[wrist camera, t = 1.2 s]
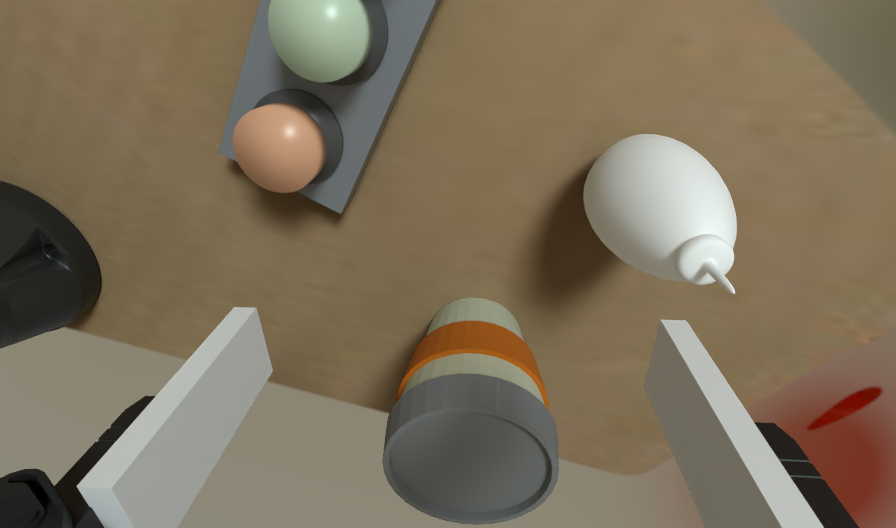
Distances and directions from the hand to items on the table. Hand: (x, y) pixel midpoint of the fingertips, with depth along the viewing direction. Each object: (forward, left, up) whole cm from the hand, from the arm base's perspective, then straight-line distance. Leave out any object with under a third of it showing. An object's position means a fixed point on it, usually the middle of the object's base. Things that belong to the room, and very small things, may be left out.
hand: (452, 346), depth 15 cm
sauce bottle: (+11, +5, -24) cm, 26 cm away
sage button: (-12, +4, -18) cm, 22 cm away
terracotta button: (-12, -4, -19) cm, 23 cm away
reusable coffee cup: (+9, -15, -24) cm, 30 cm away
